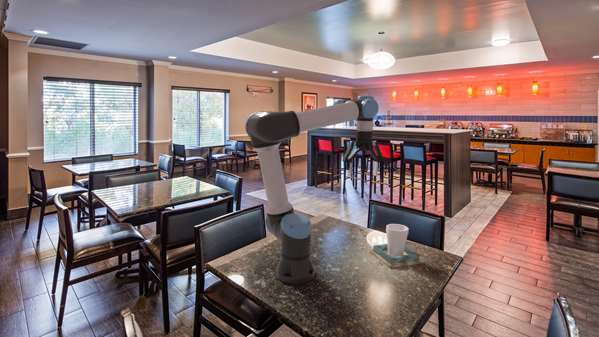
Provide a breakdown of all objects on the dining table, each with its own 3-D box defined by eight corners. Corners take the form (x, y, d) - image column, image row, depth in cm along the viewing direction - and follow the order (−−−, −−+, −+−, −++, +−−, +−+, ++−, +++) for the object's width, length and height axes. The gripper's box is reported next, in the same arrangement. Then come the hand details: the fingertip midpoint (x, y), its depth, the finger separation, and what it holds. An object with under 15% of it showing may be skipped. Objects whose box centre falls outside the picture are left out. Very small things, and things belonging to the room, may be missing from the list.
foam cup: (409, 259, 142) (411, 231, 140) (387, 259, 143) (389, 231, 140) (402, 250, 152) (404, 224, 150) (382, 250, 152) (384, 223, 150)
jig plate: (389, 268, 137) (390, 260, 136) (369, 251, 153) (369, 244, 152) (423, 262, 142) (424, 255, 141) (400, 247, 158) (400, 240, 157)
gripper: (383, 129, 157) (381, 173, 160) (336, 130, 149) (334, 175, 153) (392, 130, 150) (390, 176, 153) (343, 131, 142) (341, 178, 146)
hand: (362, 176), depth 153 cm, fingers open, 13 cm apart
